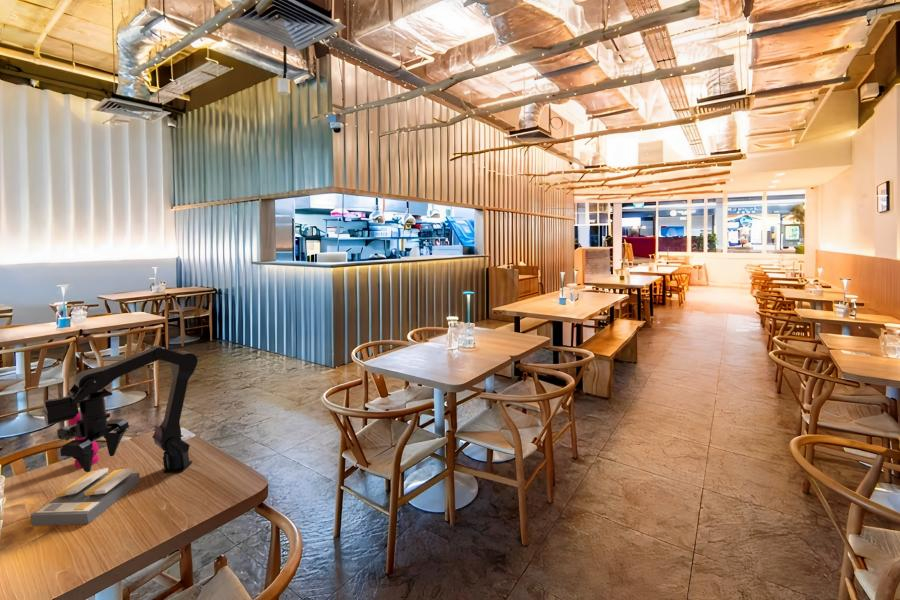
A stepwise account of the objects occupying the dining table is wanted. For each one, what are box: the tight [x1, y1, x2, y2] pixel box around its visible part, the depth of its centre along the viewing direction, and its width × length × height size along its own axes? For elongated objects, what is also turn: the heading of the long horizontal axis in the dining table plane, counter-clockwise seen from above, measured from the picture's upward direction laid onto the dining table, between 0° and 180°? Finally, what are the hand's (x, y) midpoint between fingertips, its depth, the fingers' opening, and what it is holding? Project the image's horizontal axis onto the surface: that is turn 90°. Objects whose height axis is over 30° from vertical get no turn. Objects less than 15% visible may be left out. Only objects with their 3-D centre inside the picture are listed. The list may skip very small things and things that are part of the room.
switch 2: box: [84, 467, 136, 496], centre depth 130 cm, size 6×12×1 cm, turn 1°
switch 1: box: [55, 467, 109, 498], centre depth 130 cm, size 6×12×1 cm, turn 0°
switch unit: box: [30, 472, 141, 527], centre depth 127 cm, size 15×20×4 cm
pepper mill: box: [68, 407, 100, 469], centre depth 149 cm, size 7×7×20 cm
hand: (100, 463), depth 129 cm, fingers open, 9 cm apart
